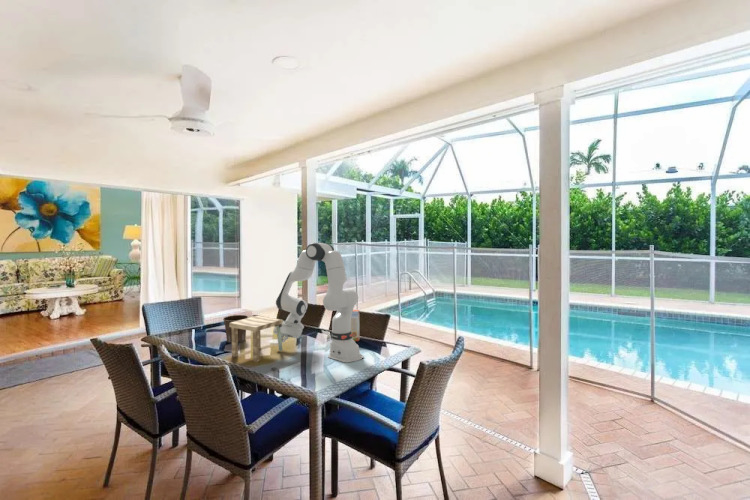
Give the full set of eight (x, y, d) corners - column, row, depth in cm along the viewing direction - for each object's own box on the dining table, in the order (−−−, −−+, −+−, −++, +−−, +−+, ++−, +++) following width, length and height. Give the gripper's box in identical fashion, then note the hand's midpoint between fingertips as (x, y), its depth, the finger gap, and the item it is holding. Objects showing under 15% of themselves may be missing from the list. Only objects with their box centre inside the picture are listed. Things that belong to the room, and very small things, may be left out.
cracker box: (359, 339, 263) (359, 309, 262) (358, 341, 257) (358, 311, 256) (340, 338, 264) (339, 309, 263) (338, 341, 258) (338, 310, 257)
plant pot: (240, 344, 250) (239, 320, 250) (218, 343, 254) (218, 319, 253) (252, 338, 266) (252, 315, 266) (232, 336, 269) (231, 314, 269)
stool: (258, 346, 245) (257, 315, 244) (283, 352, 234) (282, 319, 233) (230, 356, 226) (229, 322, 225) (256, 362, 215) (255, 327, 214)
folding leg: (280, 349, 237) (277, 323, 234) (283, 350, 236) (280, 323, 233) (278, 351, 235) (275, 324, 232) (280, 352, 234) (278, 325, 231)
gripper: (277, 318, 247) (267, 336, 239) (301, 322, 237) (291, 341, 229) (282, 323, 251) (272, 341, 243) (306, 327, 241) (296, 346, 233)
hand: (281, 341), depth 236 cm, fingers closed, pressing on folding leg
